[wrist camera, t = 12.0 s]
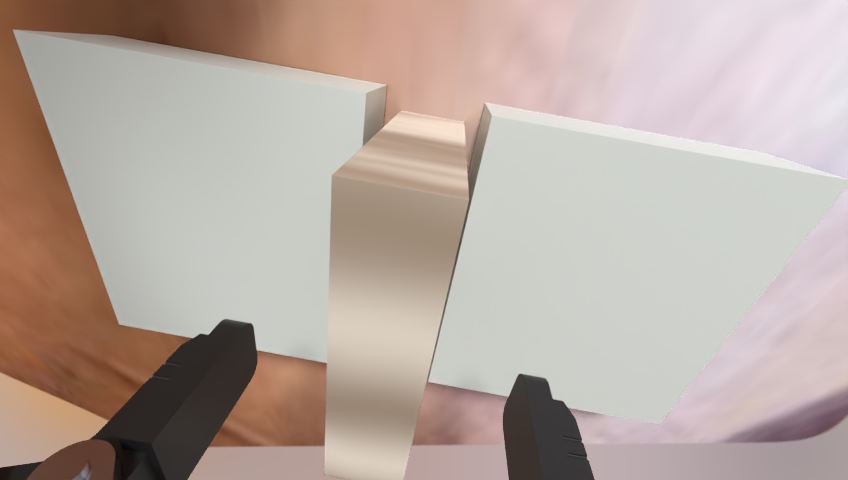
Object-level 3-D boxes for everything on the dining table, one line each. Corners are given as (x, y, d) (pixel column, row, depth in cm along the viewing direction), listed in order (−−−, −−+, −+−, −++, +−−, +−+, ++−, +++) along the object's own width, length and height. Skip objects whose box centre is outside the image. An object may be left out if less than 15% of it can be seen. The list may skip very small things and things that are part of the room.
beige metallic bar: (401, 110, 16) (331, 174, 7) (464, 121, 16) (469, 199, 7) (378, 307, 22) (323, 475, 13) (424, 315, 22) (401, 489, 13)
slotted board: (112, 35, 16) (12, 29, 12) (763, 152, 16) (852, 180, 12) (172, 282, 22) (119, 324, 19) (627, 366, 22) (659, 424, 19)
